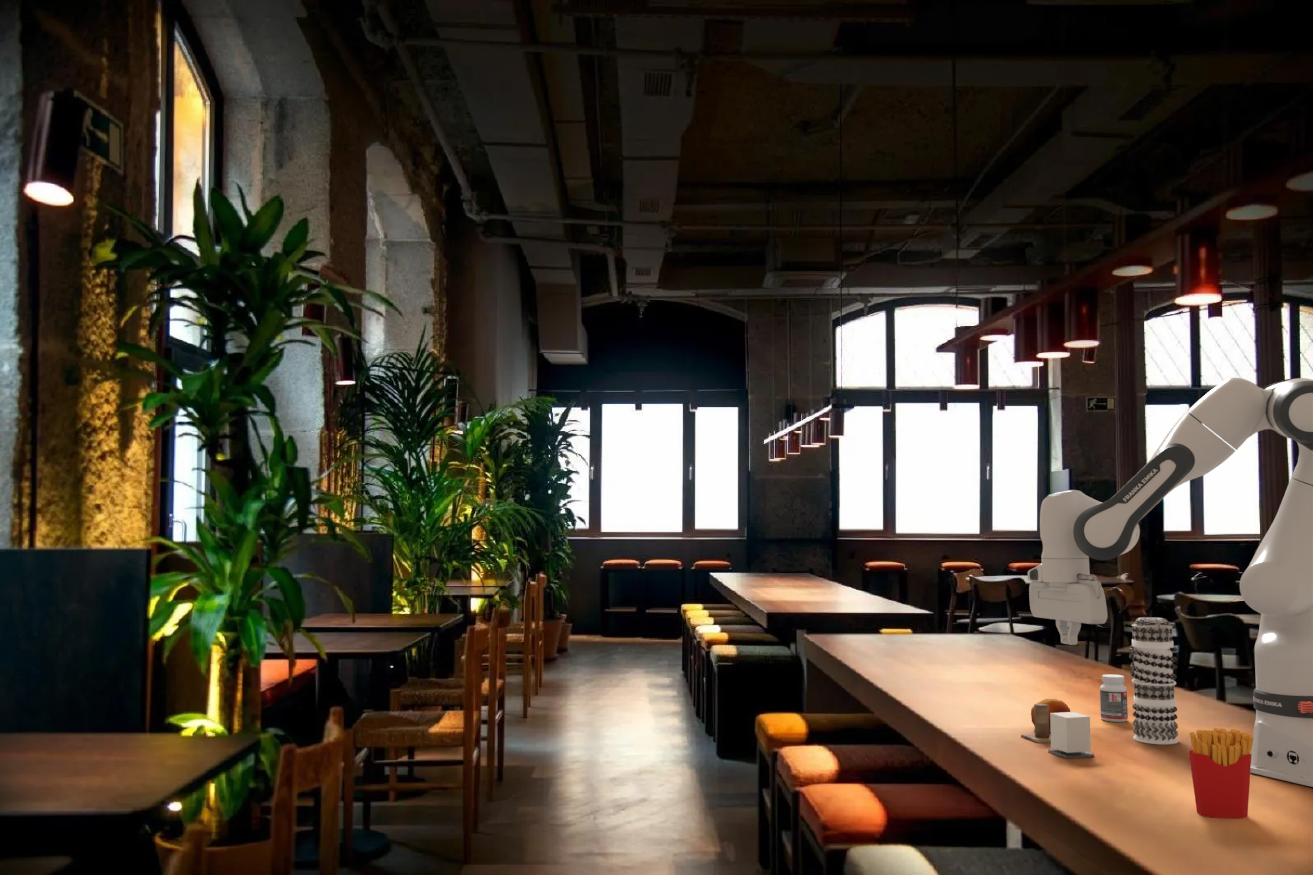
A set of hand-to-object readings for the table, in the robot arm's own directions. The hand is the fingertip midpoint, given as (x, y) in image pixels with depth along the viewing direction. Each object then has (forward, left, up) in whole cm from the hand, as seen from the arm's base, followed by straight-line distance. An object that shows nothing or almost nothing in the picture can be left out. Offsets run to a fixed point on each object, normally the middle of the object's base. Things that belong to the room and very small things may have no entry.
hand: (1069, 644), depth 215 cm
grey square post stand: (0, 0, -21) cm, 21 cm away
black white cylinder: (+7, -25, -22) cm, 34 cm away
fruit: (+21, -10, -22) cm, 32 cm away
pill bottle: (+28, -31, -22) cm, 47 cm away
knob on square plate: (+14, -3, -21) cm, 26 cm away
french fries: (-43, +3, -22) cm, 48 cm away
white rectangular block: (0, 0, -20) cm, 20 cm away
